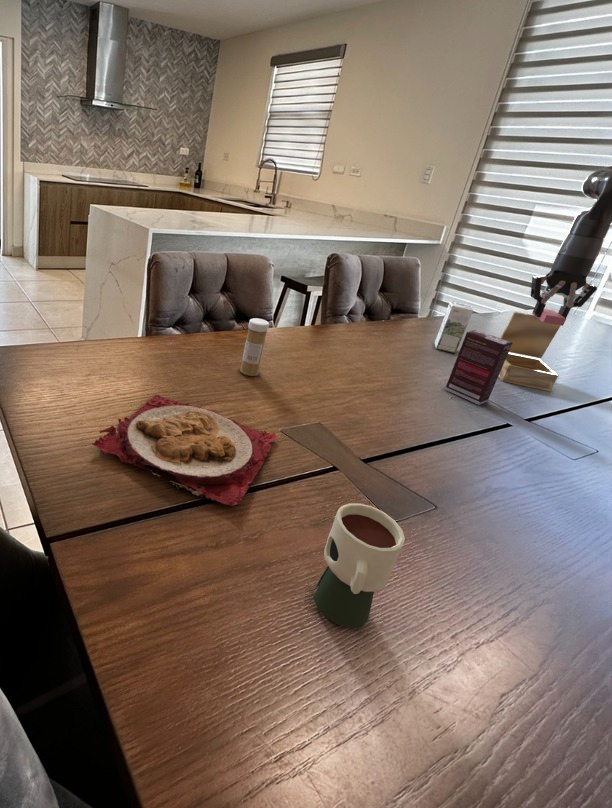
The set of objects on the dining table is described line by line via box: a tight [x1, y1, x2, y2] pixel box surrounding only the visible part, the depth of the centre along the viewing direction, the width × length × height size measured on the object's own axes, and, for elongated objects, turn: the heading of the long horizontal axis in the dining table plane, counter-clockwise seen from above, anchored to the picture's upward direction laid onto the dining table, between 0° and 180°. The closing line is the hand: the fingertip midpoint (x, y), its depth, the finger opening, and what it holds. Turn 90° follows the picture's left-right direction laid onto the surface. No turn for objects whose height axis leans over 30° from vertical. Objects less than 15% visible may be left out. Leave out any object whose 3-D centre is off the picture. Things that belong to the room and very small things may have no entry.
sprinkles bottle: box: [239, 317, 270, 377], centre depth 112 cm, size 5×5×14 cm
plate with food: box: [91, 394, 277, 507], centre depth 83 cm, size 24×26×4 cm
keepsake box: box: [498, 352, 559, 392], centre depth 131 cm, size 12×12×5 cm
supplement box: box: [444, 329, 513, 406], centre depth 113 cm, size 9×5×16 cm, turn 34°
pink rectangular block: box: [531, 308, 567, 327], centre depth 124 cm, size 8×4×2 cm, turn 163°
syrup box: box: [434, 300, 474, 354], centre depth 144 cm, size 6×6×14 cm
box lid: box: [500, 311, 562, 359], centre depth 131 cm, size 12×12×1 cm
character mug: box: [313, 502, 406, 629], centre depth 54 cm, size 11×7×13 cm, turn 155°
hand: (547, 317), depth 124 cm, fingers closed on pink rectangular block, 4 cm apart
